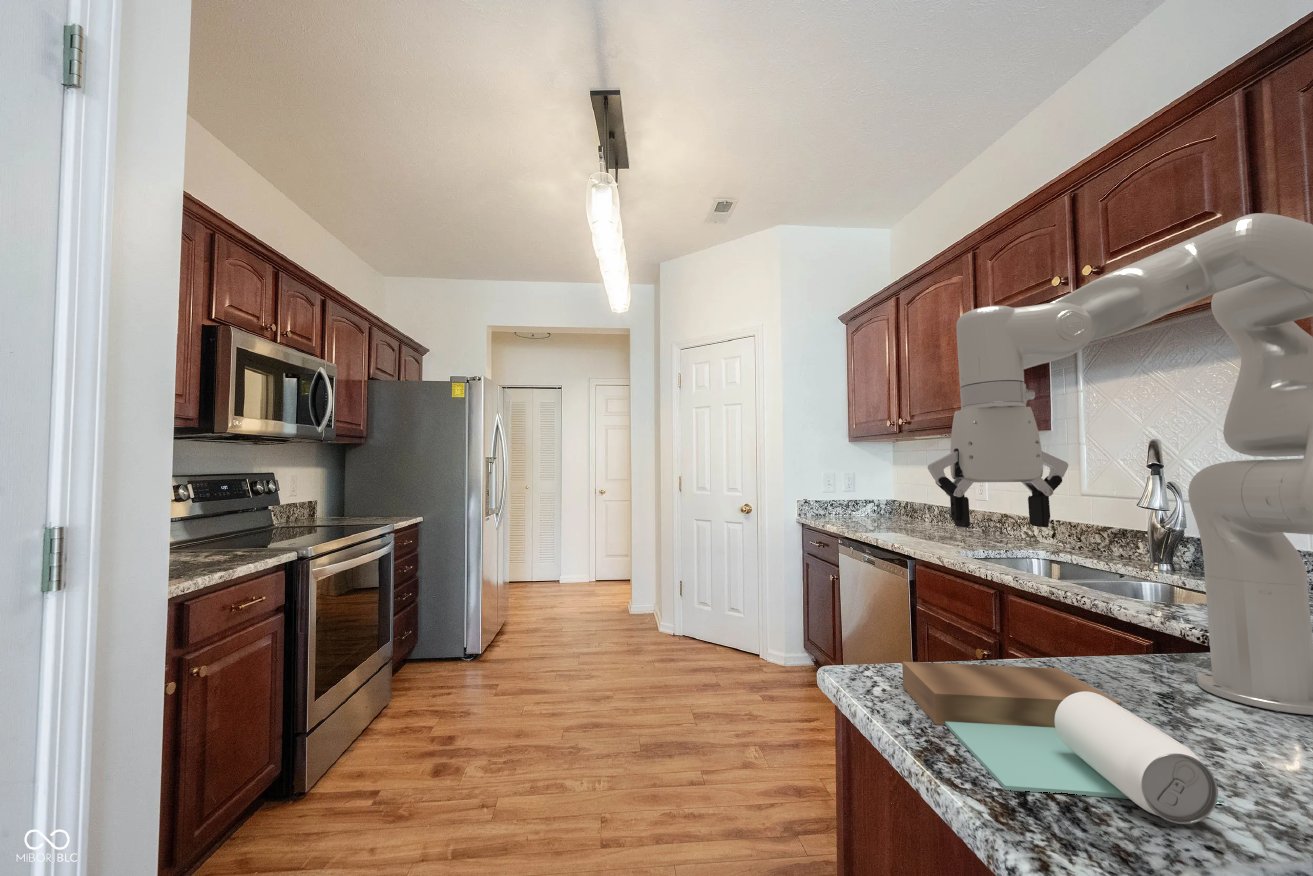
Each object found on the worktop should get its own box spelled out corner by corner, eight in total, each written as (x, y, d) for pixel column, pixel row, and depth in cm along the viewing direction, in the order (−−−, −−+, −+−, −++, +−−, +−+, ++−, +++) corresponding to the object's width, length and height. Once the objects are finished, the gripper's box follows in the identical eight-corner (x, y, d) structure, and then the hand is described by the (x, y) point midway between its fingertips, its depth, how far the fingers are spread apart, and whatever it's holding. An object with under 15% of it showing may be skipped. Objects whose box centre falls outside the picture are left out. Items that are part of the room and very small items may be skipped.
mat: (1113, 734, 62) (1113, 730, 62) (1224, 805, 48) (1224, 800, 48) (945, 725, 64) (944, 721, 64) (1005, 790, 51) (1005, 785, 51)
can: (1132, 712, 57) (1240, 778, 45) (1099, 766, 57) (1198, 846, 45) (1072, 677, 57) (1162, 733, 46) (1039, 730, 58) (1121, 799, 46)
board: (1059, 695, 74) (1057, 668, 74) (1123, 735, 62) (1120, 702, 62) (903, 687, 76) (902, 661, 77) (935, 724, 65) (934, 693, 65)
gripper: (1044, 401, 78) (1052, 524, 76) (915, 405, 80) (922, 524, 78) (1078, 392, 70) (1089, 528, 69) (936, 396, 72) (943, 529, 71)
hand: (1000, 526), depth 73 cm, fingers open, 9 cm apart
